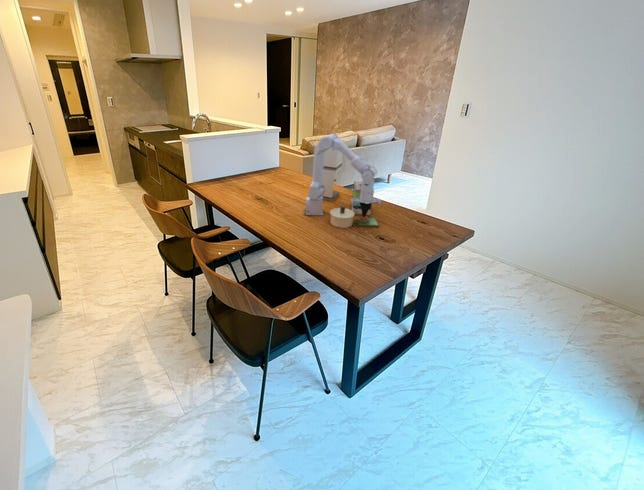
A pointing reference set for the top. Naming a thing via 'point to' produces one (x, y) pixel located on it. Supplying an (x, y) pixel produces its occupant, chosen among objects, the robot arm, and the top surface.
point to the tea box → (356, 194)
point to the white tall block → (331, 172)
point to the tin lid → (342, 213)
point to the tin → (341, 222)
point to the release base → (366, 222)
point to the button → (363, 217)
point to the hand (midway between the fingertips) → (363, 216)
